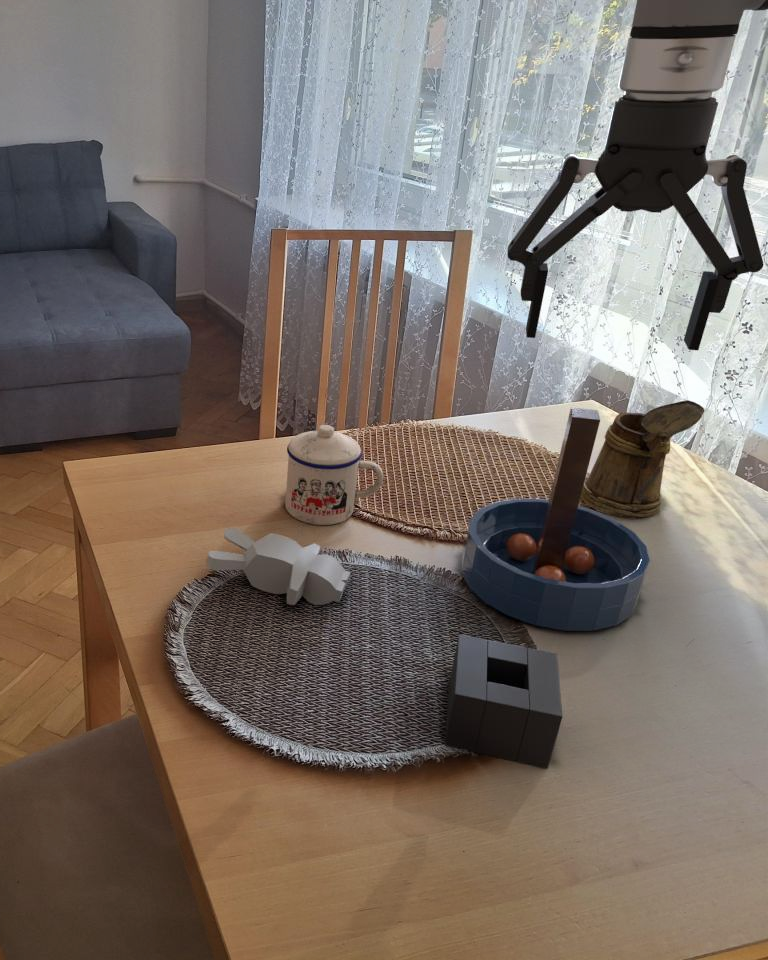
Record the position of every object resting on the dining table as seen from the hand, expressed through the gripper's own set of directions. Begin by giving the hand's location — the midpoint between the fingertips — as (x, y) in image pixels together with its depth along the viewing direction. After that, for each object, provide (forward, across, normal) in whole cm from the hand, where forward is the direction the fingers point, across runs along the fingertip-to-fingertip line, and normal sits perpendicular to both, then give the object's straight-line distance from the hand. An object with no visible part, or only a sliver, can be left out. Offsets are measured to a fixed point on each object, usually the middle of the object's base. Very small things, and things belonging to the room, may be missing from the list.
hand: (608, 339), depth 81 cm
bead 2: (+26, 0, -2) cm, 27 cm away
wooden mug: (+29, +10, +20) cm, 36 cm away
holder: (+28, -5, -24) cm, 38 cm away
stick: (+28, 0, 0) cm, 28 cm away
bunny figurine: (+28, -28, -9) cm, 41 cm away
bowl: (+29, 0, 0) cm, 29 cm away
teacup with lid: (+29, -25, +9) cm, 39 cm away
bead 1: (+26, -3, +4) cm, 27 cm away
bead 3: (+26, +3, +3) cm, 27 cm away
